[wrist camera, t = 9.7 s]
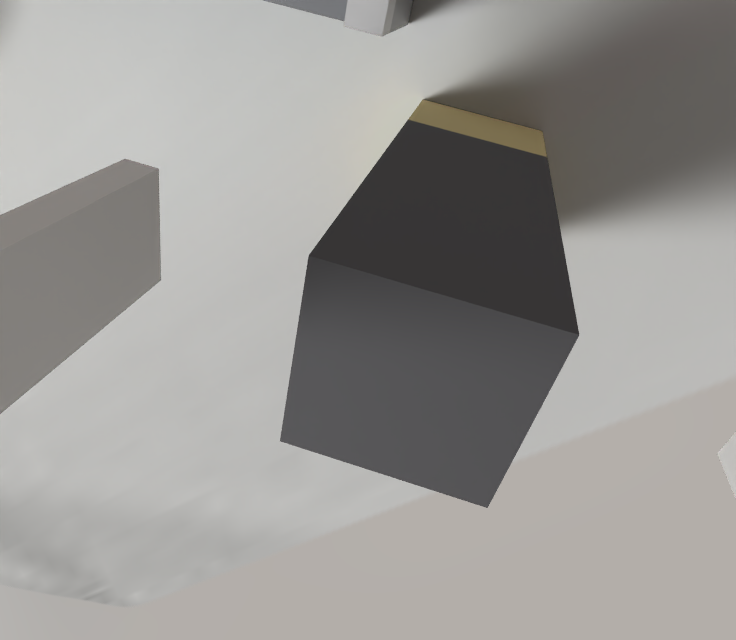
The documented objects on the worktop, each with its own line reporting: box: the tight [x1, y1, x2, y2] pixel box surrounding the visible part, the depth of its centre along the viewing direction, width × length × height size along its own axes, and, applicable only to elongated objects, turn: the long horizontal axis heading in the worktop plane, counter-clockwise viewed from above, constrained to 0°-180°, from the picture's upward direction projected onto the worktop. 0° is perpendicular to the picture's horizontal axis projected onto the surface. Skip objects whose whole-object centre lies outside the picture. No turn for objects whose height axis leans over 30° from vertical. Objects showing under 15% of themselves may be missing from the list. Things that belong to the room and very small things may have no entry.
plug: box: [280, 100, 579, 508], centre depth 14 cm, size 4×4×12 cm
